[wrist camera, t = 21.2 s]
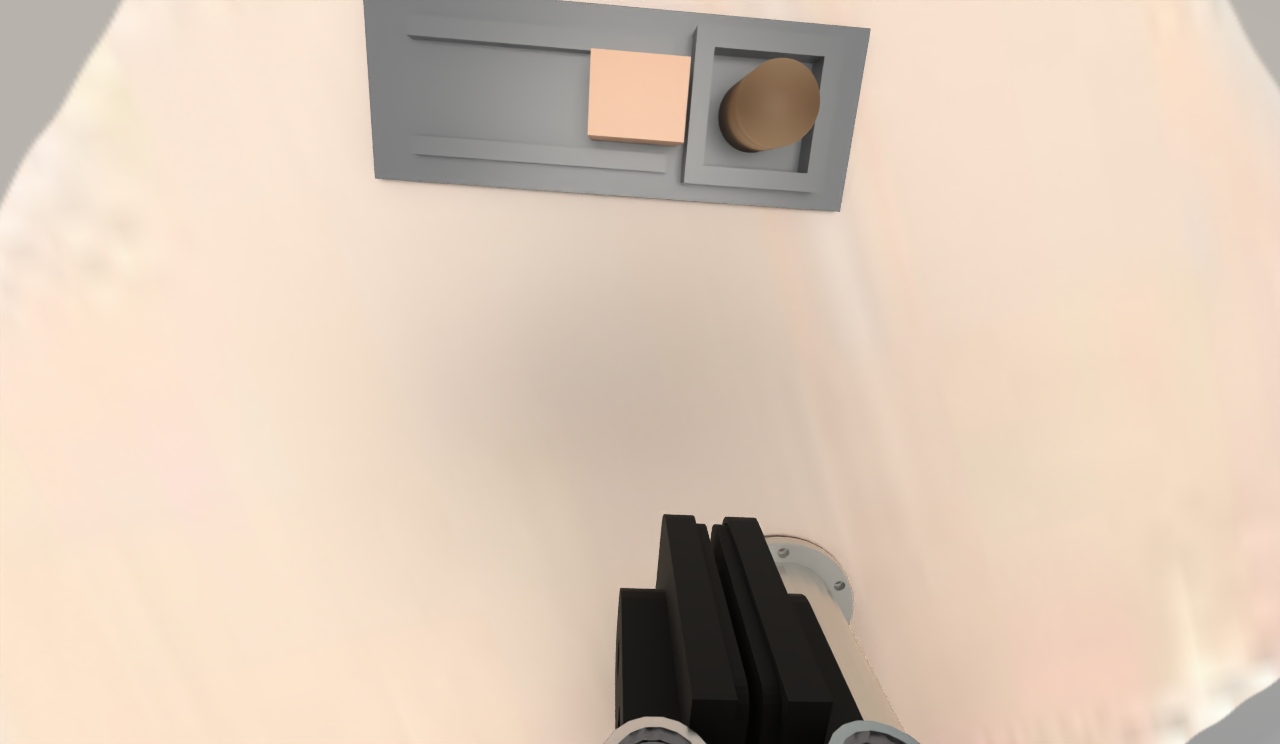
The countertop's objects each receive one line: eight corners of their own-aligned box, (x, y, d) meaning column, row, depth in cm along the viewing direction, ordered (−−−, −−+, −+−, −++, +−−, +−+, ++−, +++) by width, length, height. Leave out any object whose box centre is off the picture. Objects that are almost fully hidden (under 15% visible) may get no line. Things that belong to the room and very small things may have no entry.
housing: (834, 210, 37) (852, 213, 34) (381, 178, 36) (361, 178, 33) (863, 32, 34) (885, 19, 31) (369, -12, 32) (345, -31, 30)
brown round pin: (780, 155, 35) (812, 150, 29) (714, 149, 35) (733, 143, 29) (791, 81, 34) (826, 61, 28) (722, 75, 34) (744, 53, 28)
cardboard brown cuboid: (676, 146, 34) (683, 142, 31) (590, 139, 34) (587, 134, 30) (682, 70, 33) (691, 56, 29) (593, 63, 33) (590, 47, 29)
